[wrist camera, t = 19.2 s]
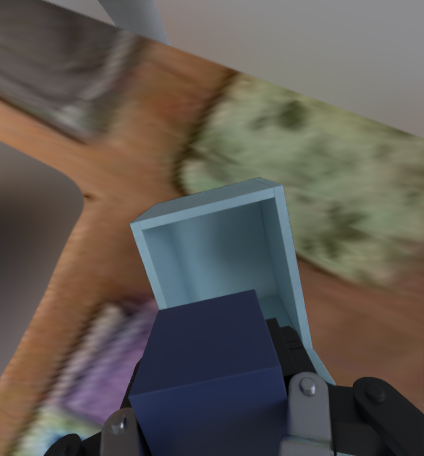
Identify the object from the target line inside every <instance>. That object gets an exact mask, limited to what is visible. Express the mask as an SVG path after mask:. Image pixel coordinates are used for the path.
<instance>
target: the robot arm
mask: <svg viewBox="0 0 424 456" xmlns="http://www.w3.org/2000/svg"><path fill="white" fill-rule="evenodd" d="M265 321H266V324H267V327H268V330H269V333H270V336H271V339H272V342H273V345H274V348H275V351H276V354H277V357H278V360H279V363H280V366H281V370H282V374H283V379H284V384H285V388H286V393H287V398H288V407H287V419H286V431H285V434H282V436H281V440H280V448H279V456H338V453H344V454H349V455H354V456H424V414H423V413H422V412H421V411H420V410H419V409H417V408H416V407H415V406H414V405H413V404H412V403H411V402H409V401H408V400H407V399H406V398H405V397H404V396H403V395H401V394H400V393H399V392H398V391H397V390H396V389H395V388H393V387H392V386H391V385H390V384H388V383H387V382H385V381H383V380H381V379H378V378H374V377H363V378H360V379H358V380H356V381H355V382H354V384H353V387H345V386H337V385H333V384H330V383H328V382H326V381H325V380H324V379H323V378H322V377H320V376H319V375H318V373H317V372H316V370H315V368H314V365H313V363H312V361H311V359H310V357H309V355H308V353H307V351H306V349H305V347H304V345H303V343H302V341H301V340H300V337H299V335H298V333H297V331H295V330H294V329H293V328H292V327H290V326H284V327H280V326H279V324H278V321H277V319H276V317H275V318H270V319H265ZM141 359H142V358H141ZM141 359H140V360H139V362H138V363H137V364H136V367H135V369H134V372H133V375H132V377H131V380H130V383H129V385H128V388H127V391H126V394H125V396H124V399H123V402H122V404H121V407H120V410H118V411H116V412H115V413H113V414H112V415H111V416H110V417H109V418H108V419H107V421H106V422H105V424H104V426H103V428H102V431H101V432H99V433H97V434H95V435H93V436H91V437H89V438H87V439H85V440H83V441H81V439H80V437H79V436H78V435H77V434H68V435H66V436H64V437H62V438H60V439H59V440H57V441H56V442H55V443H54V444H53V445H52V446H51V447H50V448H49V449H48V450H47V452H46V453H45V454H44V456H152V454H151V452H150V449H149V447H148V445H147V442H146V440H145V437H144V435H143V432H142V430H141V428H140V425H139V423H138V420H137V418H136V415H135V413H134V411H133V408H132V406H131V403H130V401H129V398H128V396H129V393H130V390H131V387H132V384H133V382H134V379H135V376H136V373H137V370H138V367H139V365H140V362H141Z"/></svg>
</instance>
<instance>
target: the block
mask: <svg viewBox="0 0 424 456" xmlns="http://www.w3.org/2000/svg"><path fill="white" fill-rule="evenodd" d="M128 398H129V401H130V403H131V406H132V408H133V411H134V413H135V415H136V418H137V420H138V423H139V425H140V428H141V430H142V432H143V435H144V437H145V440H146V442H147V445H148V447H149V449H150V452H151V454H152V456H279V448H280V440H281V436H282V434H285V431H286V419H287V407H288V398H287V393H286V388H285V384H284V379H283V374H282V370H281V366H280V363H279V360H278V357H277V354H276V351H275V348H274V345H273V342H272V339H271V336H270V333H269V330H268V327H267V324H266V321H265V318H264V315H263V312H262V309H261V306H260V303H259V300H258V297H257V294H256V291H255V289H252V290H248V291H243V292H239V293H234V294H229V295H225V296H220V297H216V298H211V299H207V300H202V301H198V302H193V303H189V304H184V305H180V306H175V307H171V308H166V309H162V310H159V311H158V314H157V317H156V320H155V322H154V325H153V328H152V331H151V334H150V336H149V339H148V342H147V345H146V348H145V351H144V353H143V356H142V359H141V362H140V365H139V367H138V370H137V373H136V376H135V379H134V382H133V384H132V387H131V390H130V393H129V396H128Z"/></svg>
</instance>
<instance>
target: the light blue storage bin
mask: <svg viewBox="0 0 424 456" xmlns="http://www.w3.org/2000/svg"><path fill="white" fill-rule="evenodd" d="M130 226H131V229H132V232H133V235H134V238H135V241H136V244H137V247H138V250H139V252H140V255H141V258H142V261H143V264H144V267H145V270H146V273H147V276H148V278H149V281H150V284H151V287H152V290H153V293H154V296H155V299H156V302H157V304H158V307H159V310H162V309H166V308H171V307H175V306H180V305H184V304H189V303H193V302H198V301H202V300H207V299H211V298H216V297H220V296H225V295H229V294H234V293H239V292H243V291H248V290H252V289H255V291H256V294H257V297H258V300H259V303H260V306H261V309H262V312H263V315H264V318H265V319H270V318H275V317H276V319H277V321H278V324H279V326H280V327H284V326H290V327H292V328H293V329H294V330H295V331H297V333H298V335H299V337H300V340H301V341H302V343H303V345H304V347H305V349H306V350H311V349H313V348H312V343H311V337H310V332H309V326H308V321H307V315H306V310H305V304H304V299H303V293H302V288H301V282H300V277H299V272H298V266H297V261H296V255H295V250H294V244H293V239H292V233H291V228H290V222H289V217H288V211H287V206H286V200H285V195H284V189H283V185H281V184H278V183H275V182H272V181H269V180H266V179H263V178H260V177H259V178H255V179H251V180H247V181H243V182H239V183H236V184H232V185H228V186H224V187H220V188H216V189H212V190H208V191H204V192H200V193H196V194H193V195H189V196H185V197H181V198H177V199H173V200H169V201H165V202H161V203H157V204H155V205H154V206H152V207H151V208H150V209H148V210H147V211H146V212H144V213H143V214H142V215H140V216H139V217H138V218H137V219H135V220H134V221H133V222H131V223H130Z"/></svg>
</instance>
